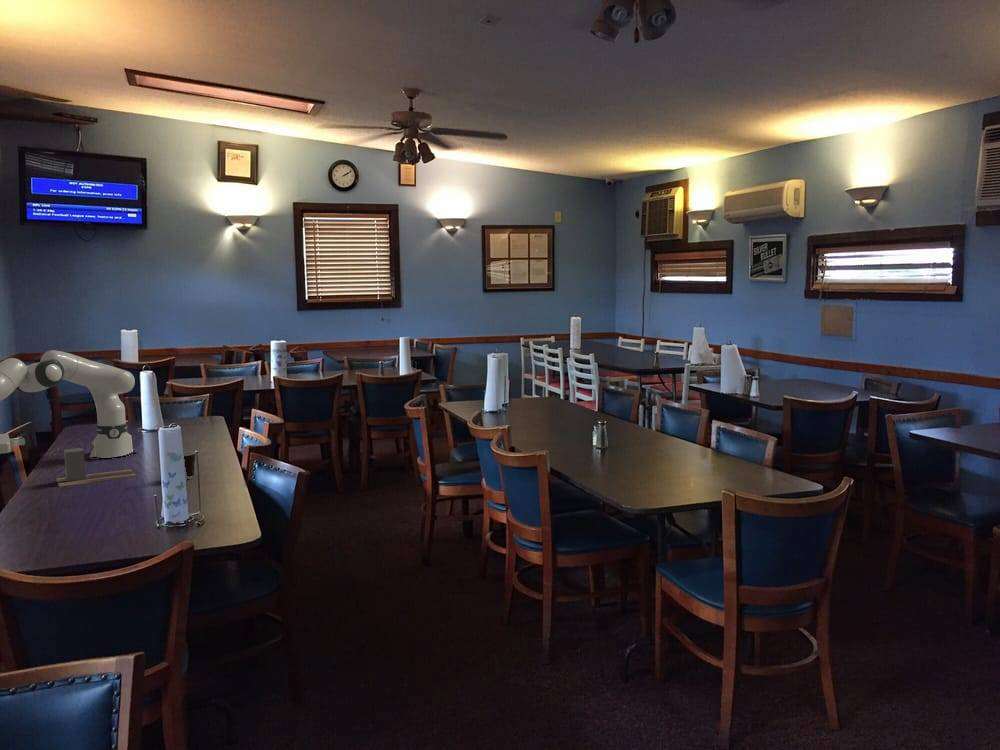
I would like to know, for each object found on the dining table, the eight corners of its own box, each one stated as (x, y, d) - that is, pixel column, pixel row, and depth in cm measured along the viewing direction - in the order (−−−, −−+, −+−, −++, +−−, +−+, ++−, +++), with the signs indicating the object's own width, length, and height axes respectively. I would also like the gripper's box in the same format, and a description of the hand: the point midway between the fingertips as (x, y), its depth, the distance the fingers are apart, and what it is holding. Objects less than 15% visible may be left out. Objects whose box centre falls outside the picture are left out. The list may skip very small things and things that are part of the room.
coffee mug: (191, 481, 294) (190, 456, 292) (169, 481, 293) (168, 456, 292) (203, 474, 305) (202, 449, 304) (181, 474, 305) (180, 449, 304)
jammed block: (65, 480, 289) (63, 449, 288) (83, 478, 292) (81, 447, 291) (67, 484, 284) (65, 452, 283) (85, 481, 287) (83, 450, 286)
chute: (56, 484, 289) (56, 478, 289) (131, 474, 304) (131, 469, 303) (58, 489, 281) (58, 484, 281) (136, 479, 296) (135, 474, 295)
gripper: (-22, 442, 261) (25, 437, 269) (-22, 432, 278) (22, 428, 286) (-21, 460, 262) (26, 455, 269) (-21, 449, 279) (24, 445, 286)
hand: (24, 441), depth 278 cm, fingers closed
